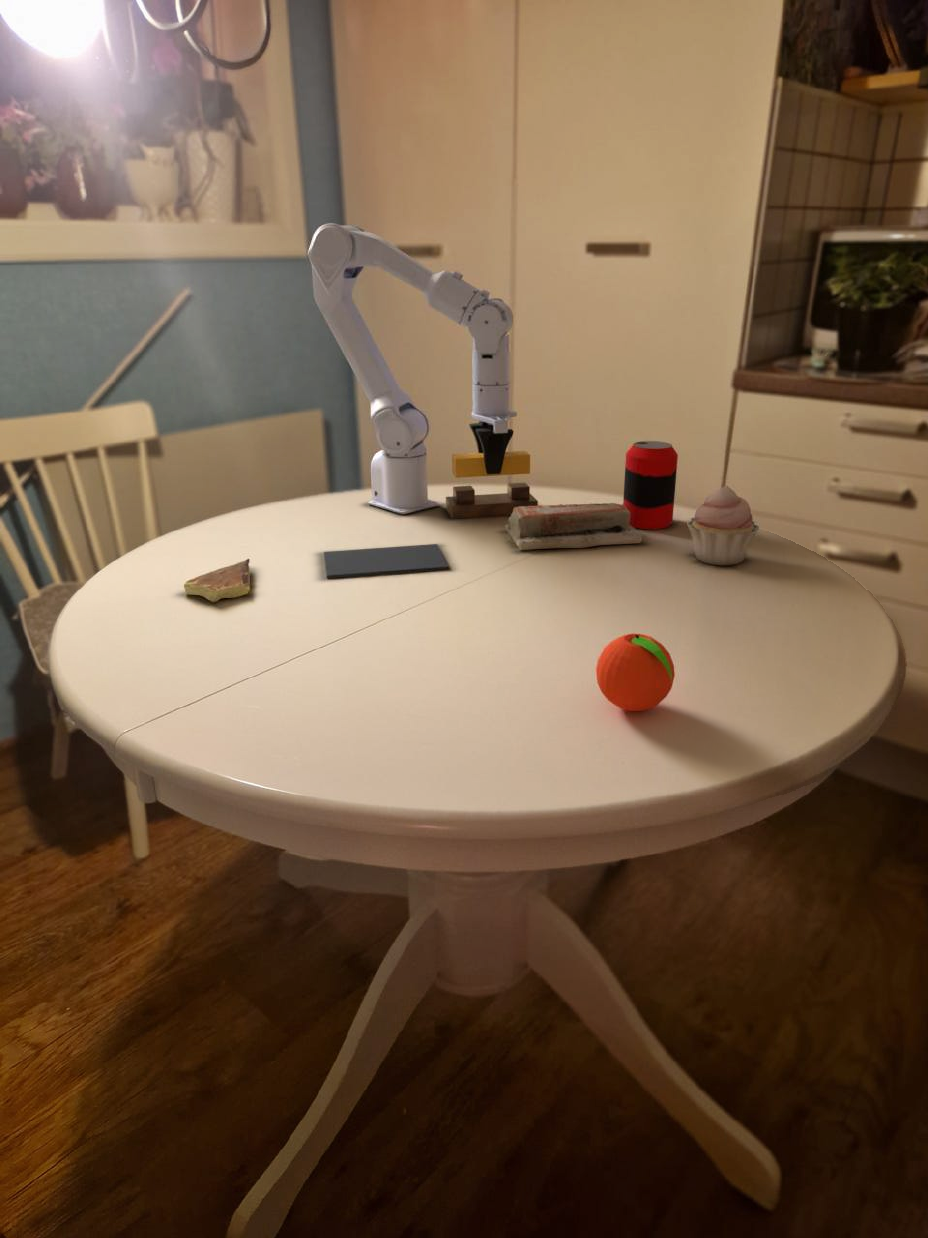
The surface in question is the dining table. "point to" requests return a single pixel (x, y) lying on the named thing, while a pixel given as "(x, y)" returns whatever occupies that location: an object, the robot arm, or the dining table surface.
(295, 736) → the dining table surface
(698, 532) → the cupcake
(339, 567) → the mat
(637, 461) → the soda can
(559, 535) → the packaged product
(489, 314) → the robot arm
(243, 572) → the shard
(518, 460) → the bar
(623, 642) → the clementine
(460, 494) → the brown two-peg stand
